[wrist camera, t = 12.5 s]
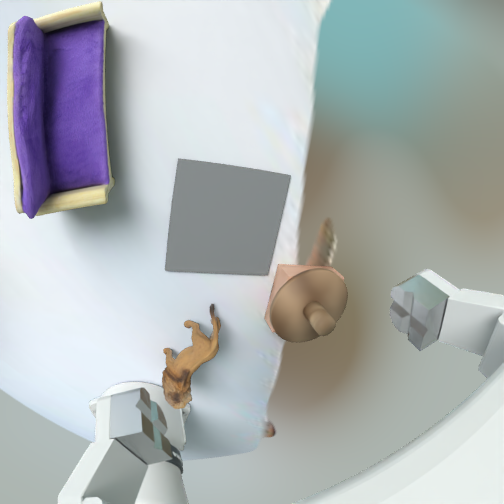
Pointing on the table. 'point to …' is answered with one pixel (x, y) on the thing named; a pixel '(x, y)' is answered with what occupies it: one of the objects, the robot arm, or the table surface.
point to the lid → (308, 305)
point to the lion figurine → (188, 363)
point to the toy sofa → (58, 111)
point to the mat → (224, 218)
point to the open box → (283, 276)
